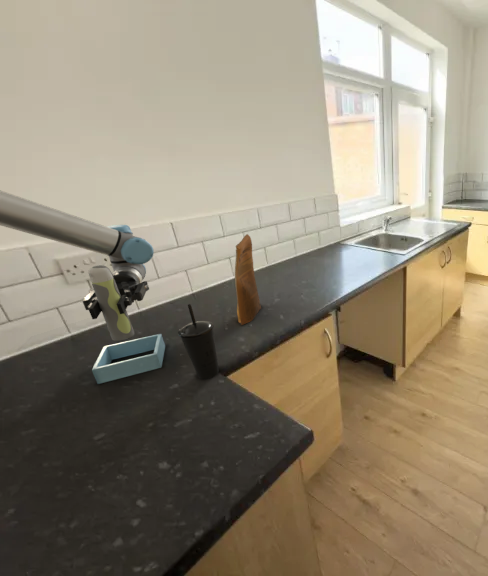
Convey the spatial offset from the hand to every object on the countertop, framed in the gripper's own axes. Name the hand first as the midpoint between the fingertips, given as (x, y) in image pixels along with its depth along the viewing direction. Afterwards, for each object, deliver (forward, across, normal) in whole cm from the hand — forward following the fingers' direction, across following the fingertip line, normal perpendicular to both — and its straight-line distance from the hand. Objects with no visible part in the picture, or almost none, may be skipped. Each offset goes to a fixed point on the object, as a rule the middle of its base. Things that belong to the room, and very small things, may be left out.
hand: (106, 311), depth 77 cm
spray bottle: (-5, 0, -10) cm, 11 cm away
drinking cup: (+11, -18, -19) cm, 28 cm away
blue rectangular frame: (-5, 0, -18) cm, 19 cm away
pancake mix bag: (-20, -33, -18) cm, 43 cm away
